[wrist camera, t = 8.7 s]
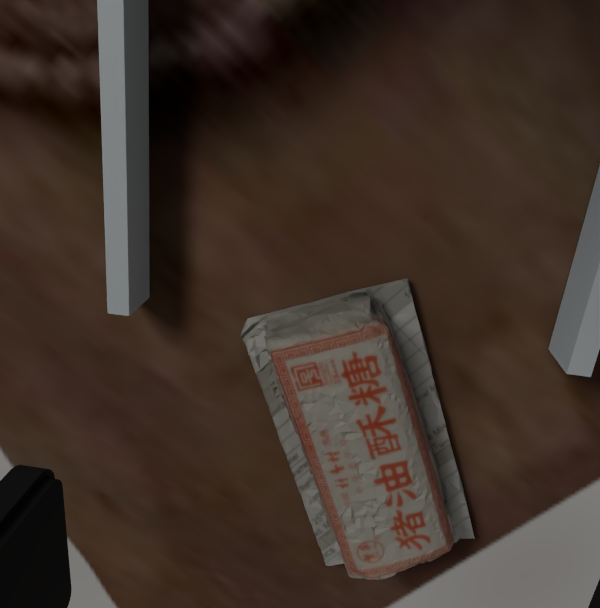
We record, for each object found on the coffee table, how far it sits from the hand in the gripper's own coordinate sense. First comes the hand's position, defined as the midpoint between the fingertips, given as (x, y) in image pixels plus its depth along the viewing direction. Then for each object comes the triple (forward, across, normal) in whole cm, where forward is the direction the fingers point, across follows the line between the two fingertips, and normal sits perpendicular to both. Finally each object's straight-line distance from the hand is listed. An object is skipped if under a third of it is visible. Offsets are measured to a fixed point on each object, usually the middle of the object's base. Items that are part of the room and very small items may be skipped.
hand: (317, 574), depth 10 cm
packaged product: (+22, -2, +12) cm, 25 cm away
